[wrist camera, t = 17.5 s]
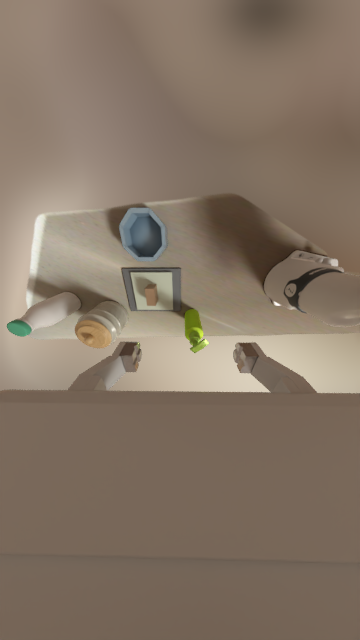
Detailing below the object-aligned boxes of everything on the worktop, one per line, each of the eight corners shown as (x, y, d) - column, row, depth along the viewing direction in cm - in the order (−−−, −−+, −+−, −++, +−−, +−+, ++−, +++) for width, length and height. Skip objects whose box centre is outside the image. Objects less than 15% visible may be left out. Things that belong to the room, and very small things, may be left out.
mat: (180, 268, 45) (180, 268, 44) (180, 310, 53) (180, 310, 52) (122, 268, 45) (121, 268, 44) (131, 310, 53) (130, 310, 53)
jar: (110, 330, 59) (85, 361, 44) (90, 306, 53) (52, 332, 37) (135, 321, 56) (117, 351, 41) (116, 294, 50) (88, 317, 35)
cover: (171, 271, 45) (170, 275, 40) (173, 308, 52) (172, 316, 47) (131, 271, 45) (124, 275, 40) (138, 308, 52) (133, 315, 47)
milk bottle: (67, 287, 49) (4, 311, 32) (85, 302, 52) (38, 332, 35) (56, 298, 51) (-7, 327, 34) (75, 312, 54) (25, 345, 37)
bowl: (166, 212, 37) (163, 207, 32) (168, 258, 43) (166, 261, 38) (124, 212, 37) (115, 208, 32) (132, 258, 43) (125, 261, 38)
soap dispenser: (203, 314, 54) (213, 348, 37) (190, 323, 56) (194, 359, 39) (194, 304, 52) (200, 335, 34) (181, 315, 54) (181, 349, 37)
